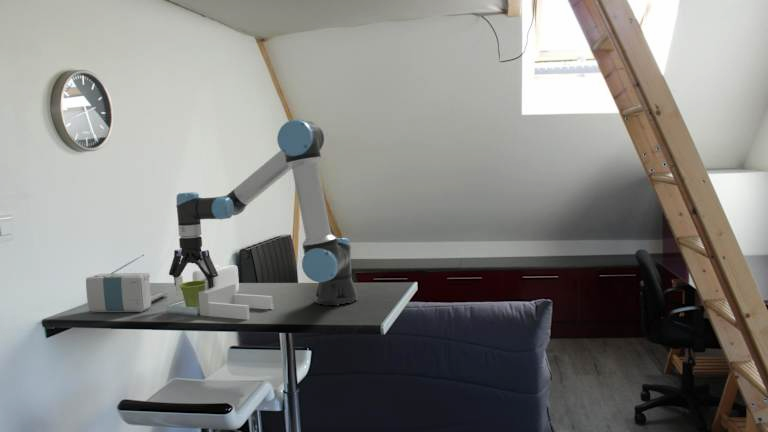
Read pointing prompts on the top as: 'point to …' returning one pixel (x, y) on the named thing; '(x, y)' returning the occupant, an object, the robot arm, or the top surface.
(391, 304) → the top surface
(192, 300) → the plant pot
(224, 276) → the cable organizer
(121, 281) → the stereo radio cassette player
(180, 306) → the tray
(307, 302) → the top surface
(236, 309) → the bay
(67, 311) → the top surface
